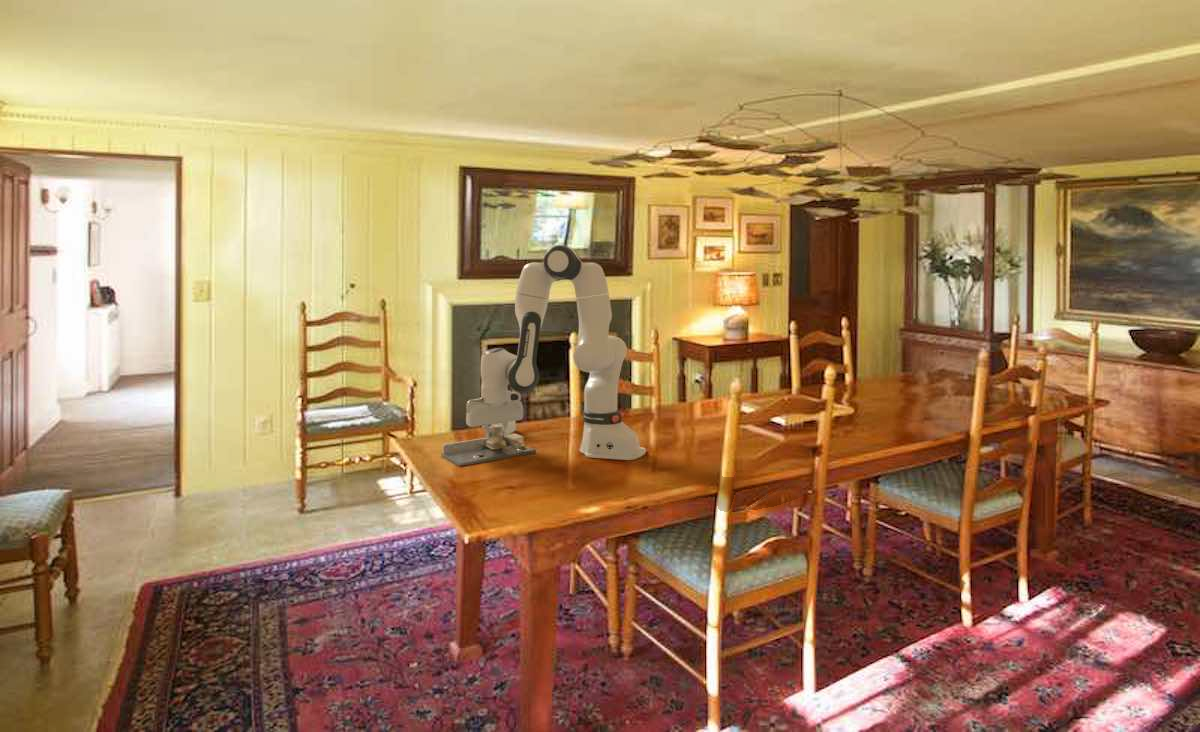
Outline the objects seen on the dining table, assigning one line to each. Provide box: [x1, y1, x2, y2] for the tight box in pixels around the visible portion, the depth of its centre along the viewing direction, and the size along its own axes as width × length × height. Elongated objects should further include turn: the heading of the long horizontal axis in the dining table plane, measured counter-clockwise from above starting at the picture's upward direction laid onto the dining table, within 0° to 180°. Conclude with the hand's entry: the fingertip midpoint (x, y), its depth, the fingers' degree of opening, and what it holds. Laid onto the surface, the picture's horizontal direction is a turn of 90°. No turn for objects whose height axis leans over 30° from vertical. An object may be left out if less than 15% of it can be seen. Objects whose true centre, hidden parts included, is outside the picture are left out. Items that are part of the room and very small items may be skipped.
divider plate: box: [440, 432, 537, 467], centre depth 249 cm, size 28×14×4 cm, turn 125°
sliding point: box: [486, 425, 506, 451], centre depth 252 cm, size 5×10×7 cm, turn 35°
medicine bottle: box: [490, 421, 517, 434], centre depth 279 cm, size 7×7×12 cm
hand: (495, 436), depth 254 cm, fingers closed on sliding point, 3 cm apart
